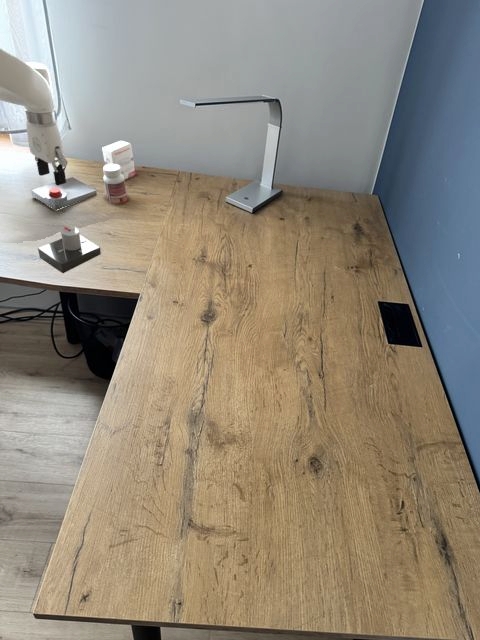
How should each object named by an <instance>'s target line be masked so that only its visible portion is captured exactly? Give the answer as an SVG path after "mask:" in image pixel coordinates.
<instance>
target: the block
mask: <svg viewBox="0 0 480 640" xmlns="http://www.w3.org/2000/svg"><path fill="white" fill-rule="evenodd" d="M51 188H59V189H60V190H61V197H57V198H53V197H50V193H49V189H51ZM30 193H31V196H33V197H32V198H34V197H35V198H36V200H37V199H38V200H37V201H39V200H40V201H41V202H40V201H39V202H40V203H42V202H43V203H45V204H46V205H45V204H44V205H45V206H47V205H48V206H50V207H52V208H53V209H55V210H57V209H60V208H62V207H65V206H68V205H70V206H72V205H71V204H73V203H75V204H77V203H76V202H78V203H80V202H82V201H85V200H87V199H89V198H92V197H94V196H97V195H98V194H97V190H96V189H95V188H93V187H91V186H89V185H87V184H86V183H84V182H82V181H80V180H79V179H77V178H75V177H74V176H72V177H71V176H70V177H68V178H66V183H64V184H61V185H58V186H57V185H56V184H55V182H52V183H49V184H46V185H43V186H40V187H39V186H38V187H36V188H32V189H31V190H30ZM35 198H34V199H35ZM84 199H85V200H84ZM79 201H80V202H79ZM43 203H42V204H43ZM73 205H74V204H73ZM48 206H47V207H48ZM50 207H49V208H50ZM68 207H69V206H68ZM52 208H51V209H52ZM53 209H52V210H53ZM55 210H54V211H55Z"/></svg>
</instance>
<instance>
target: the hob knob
mask: <svg viewBox="0 0 480 640" xmlns="http://www.w3.org/2000/svg"><path fill="white" fill-rule="evenodd" d="M60 234H61V239H62V240H63V246H64V248H65V249H66V250H70V251H73V250H78V249H79V248H81V241H80V235H81V234H80V230H79V228H77V227H75V226H64V227H63V228H62V229H61V230H60Z"/></svg>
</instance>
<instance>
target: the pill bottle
mask: <svg viewBox="0 0 480 640" xmlns="http://www.w3.org/2000/svg"><path fill="white" fill-rule="evenodd" d="M102 170H103V171H102V172H103V179H102V180H103V184H104V190H105V191H104V192H105V196H106V200H107V202H108V203H110V204H114V205H116V204H118V205H119V204H123V203H125V202H126V201H128V193H127V188H126V182H125V180H124V176H123V175H122V174H121V168H120V166H119V165H117V164H108V165H105V164H104V165H103V167H102Z"/></svg>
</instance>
